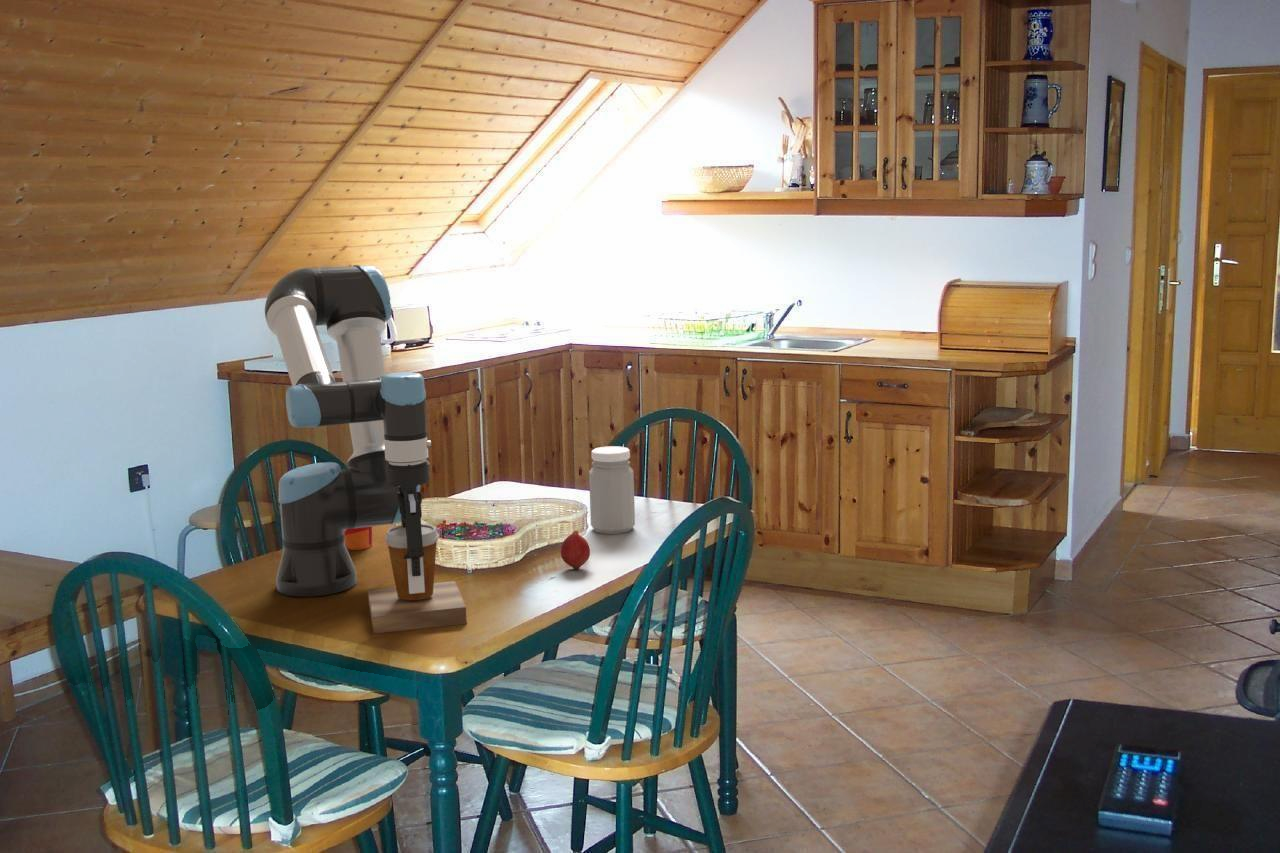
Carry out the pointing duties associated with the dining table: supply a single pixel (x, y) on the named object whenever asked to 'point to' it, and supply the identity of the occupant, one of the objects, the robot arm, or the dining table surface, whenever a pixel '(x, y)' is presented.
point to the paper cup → (358, 538)
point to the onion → (575, 550)
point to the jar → (611, 490)
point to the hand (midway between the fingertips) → (414, 585)
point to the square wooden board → (416, 609)
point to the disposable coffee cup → (397, 550)
